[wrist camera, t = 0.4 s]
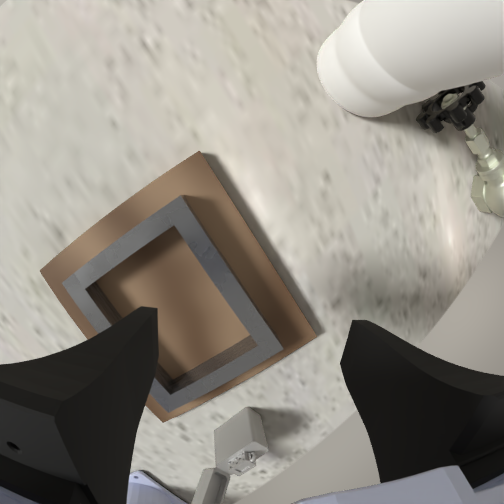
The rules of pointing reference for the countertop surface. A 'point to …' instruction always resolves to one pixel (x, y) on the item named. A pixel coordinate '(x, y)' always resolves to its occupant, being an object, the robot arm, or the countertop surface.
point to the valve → (470, 142)
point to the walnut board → (184, 278)
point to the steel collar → (222, 275)
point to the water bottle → (410, 52)
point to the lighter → (232, 455)
